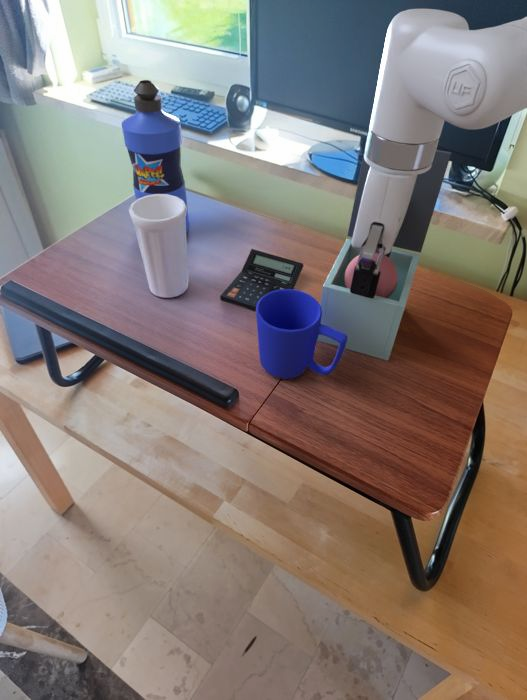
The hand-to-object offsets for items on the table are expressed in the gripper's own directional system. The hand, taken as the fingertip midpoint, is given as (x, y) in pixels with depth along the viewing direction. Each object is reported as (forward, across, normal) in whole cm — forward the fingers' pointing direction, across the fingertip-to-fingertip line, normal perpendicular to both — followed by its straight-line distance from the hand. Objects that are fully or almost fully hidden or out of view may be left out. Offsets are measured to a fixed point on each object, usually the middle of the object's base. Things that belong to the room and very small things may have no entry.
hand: (370, 274), depth 65 cm
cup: (+10, +3, -31) cm, 33 cm away
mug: (+10, +12, -6) cm, 17 cm away
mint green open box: (+10, -1, 0) cm, 10 cm away
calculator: (+10, -3, -17) cm, 20 cm away
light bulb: (+9, 0, 0) cm, 9 cm away
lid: (-7, -8, 0) cm, 11 cm away
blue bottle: (+10, -13, -41) cm, 44 cm away
